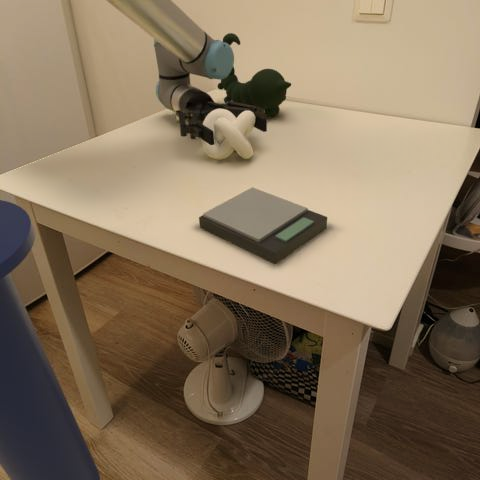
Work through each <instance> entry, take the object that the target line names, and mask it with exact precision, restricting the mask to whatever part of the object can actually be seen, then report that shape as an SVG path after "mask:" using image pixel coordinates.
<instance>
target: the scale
mask: <svg viewBox="0 0 480 480" xmlns="http://www.w3.org/2000/svg"><path fill="white" fill-rule="evenodd" d="M198 221H199V228H200V229H201V230H204V231H206V232H208V233H209V234H212V235H213V236H216V237H218V238H220V239H223V240H225V241H227V242H229V243H231V244H233V245H235V246H237V247H239V248H241V249H243V250H245V251H247V252H250V253H251V254H252V255H253V254H254V255H255V256H258V257H260V258H262V259H264V260H266V261H268V262H270V263H272V264H274V265H276V264H278V263H279V262H281V261H282V260H284V259H285V258H286V257H288V256H290V254H292V253H293V252H294V251H296V250H298V249H299V248H300V247H302V246H303V245H305V244H306V243H308V242H309V241H310V240H311V239H313V238H314V237H316V236H317V235H319V234H320V233H321V232H323V231H325V229H327V225H328V216H326V215H324V214H321V213H318V212H315V211H313V210H310V209H309V208H308V207H306V206H303V205H300V204H298V203H295V202H294V201H291V200H287V199H284V198H283V197H280V196H277V195H274V194H271V193H268V192H266V191H263V190H260V189H258V188H255V187H253V186H252V187H250V188H248V189H246V190H245V191H243V192H241V193H239V194H237V195H235V196H233V197H232V198H230V199H227V200H226V201H223V202H222V203H220V204H218V205H216V206H214V207H213V208H211V209H209V210H207V211H205V212H204V213H202V215H200V216H199V217H198Z"/></svg>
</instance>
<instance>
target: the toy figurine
mask: <svg viewBox="0 0 480 480" xmlns="http://www.w3.org/2000/svg"><path fill="white" fill-rule="evenodd" d="M222 42H225V43H227V44H229V45H230V46H231V45H232V44H233V43H236V44H237V45H238V46H241V40H240V38H239V37H238V35H237V34H235V33H233V32H228V33H227V34H224V36H223V37H222ZM235 71H236V70H235V67H234V65H233V68H232V70H231V72H230V74H229V75H228V76H227V77H226V78H224V79H221V80H220V82H219V83H217V88H218V90H224V91H225V94H226V96H225V97H224V98H223V102H224V103H223V104H225V101H226V100H230V101H233V102H236V103H241V104H247V105H253V106H257V107H259V110H262V111H263V112H264V115H265V116H266V118H267V119H268V118H269V119H272V118H274V117H277V116H278V115H279V114H280V110H281V109H280V106H281V104H283V102H284V101H286V100H287V92H288V91H287V90H288V89H289V88H290V87H292V83H291V82H289V81H286V80H285V78H284V76H283V75H282V74H281V73H280V72H279V71H277V70H276V69H273V68H263V69H261V70H258V71H257V72H255V74H254V75H253V76H252V77H251V79H249V80H248V81H245V82H241V81H239V78H238V76H237V75H236V73H235Z"/></svg>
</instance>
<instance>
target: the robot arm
mask: <svg viewBox="0 0 480 480" xmlns="http://www.w3.org/2000/svg"><path fill="white" fill-rule="evenodd" d="M105 1H106V2H107V3H108V4H110V5H111V6H113V7H114V8H115V9H116V10H118V11H119V12H120V13H121V14H123V15H124V16H125V17H126V18H128V19H129V20H130V21H131V22H133V24H135V25H136V26H138V27H139V28H140V29H141V30H143V31H144V32H145V33H146V34H147V35H149V36H150V37H151V38H153V47H154V53H155V58H156V65H157V69H158V70H157V71H158V82H157V84H156V86H155V95H156V98H157V100H158V101H159V103H161V104H162V106H164V108H166V109H168V110H169V111H172V112H173V113H175V119H176V123H177V124H178V125H179V130H180V131H179V132H180V136H181V137H182V138H184V137H187V135H189V137H190V140H196V139H200V140H201V139H202V140H204V141H205V142H207V143H208V144H210V145H214V134H213V131H212V130H211V129H209V128H208V127H206V126H204V125H203V122H204V120H205V118H206V116H207V115H208V114H209V113H210V112H211V111H213V110H215V109H226V110H228V111H230V112H231V113H232V114H233V115H234V116H235V117H236V118H237V117H238V116H239V115H240V114H241V113H242V112H244V111H251V112H253V113H254V115H255V125H254V127H253V128H255V129H257V130H259V131H261V132H263V133H265V132H266V133H267V131H268V117H265V116H263V115H262V114H260V108H259V107H257V106H253V105H247V104H241V103H236V102H233V101H230V100H226V101H225V103H221V102H220V103H219V102H216V101H214V99H213V97H212V96H211V95H210V94H209V93H207V92H206V91H203V90H202V89H200V88H198V87H196V86H195V85H194V86H193V85H192V83H191V76H190V75H195V76H198V77H203V78H207V79H209V80H219V81H221V79H224V78H226V77H227V76H228V75H229V74H230V72H231V70H232V68H233V66H234V64H235V54H234V50H233V48H232V46H231V45H229V44H227V43H225V42H223V40H220V39H214V38H212V37H211V36H210V35H209V34H208V33H207V32H206V31H205V30H203V28H201V26H199V25H198V24H197V22H195V21H194V20H193V19H192V18H190V17H189V15H187V14H186V12H184V10H182V9H181V8H180V7H179V6H178V5H177V4H176V3H175V2H174V1H173V0H105ZM187 122H188V124H186V123H187Z"/></svg>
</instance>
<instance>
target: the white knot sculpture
mask: <svg viewBox="0 0 480 480" xmlns="http://www.w3.org/2000/svg"><path fill="white" fill-rule="evenodd" d="M203 125H204V126H206V127H208V128H209V129H211V130H212V131H213V134H214V145H210V144H208V143H207V142H205V141H204V140H202V139H201V138H200V141H201V146H202V149H203V151H204V152H205V154H206V155H207V156H208V157H209V158H211V159H213V160H217V161H218V160H219V161H221V160H225V159H227V158H228V157H230V156H231V155H232V154H233V153H234V152H235V151H236V153H237V154H238V156H240V158H242V159H243V160H248V159H250V158H251V157H252V156H253V154H254V149H253V147H252V144H251V142H250V141H249V139H248V137H249V136H250V134H251V133H252V131H253V130H254V128H255V127H254V125H255V115H254V113H253V112H251V111H244V112H242V113H241V114H240V115H239V116H238V117H237V118H236V117H235V116H234V115H233V114H232V113H231V112H230V111H228V110H226V109H215V110H213V111H211V112H210V113H209V114H208V115H207V116H206V118H205V120H204V122H203Z"/></svg>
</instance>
